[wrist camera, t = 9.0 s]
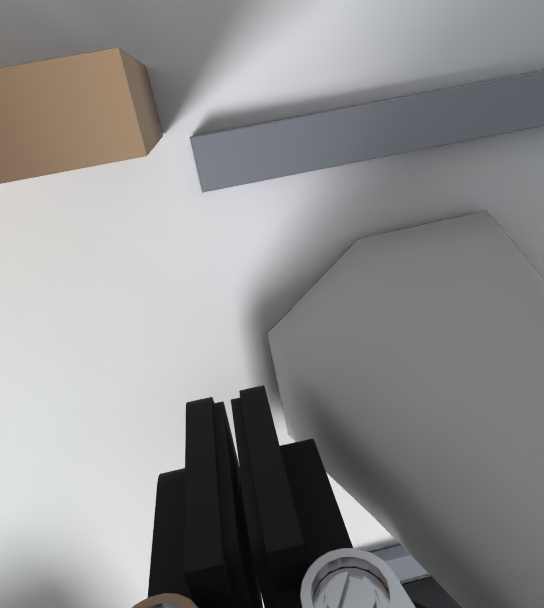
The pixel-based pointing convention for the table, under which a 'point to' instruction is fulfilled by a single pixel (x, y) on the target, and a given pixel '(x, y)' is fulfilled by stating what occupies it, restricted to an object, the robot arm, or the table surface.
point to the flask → (431, 399)
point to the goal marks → (370, 152)
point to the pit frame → (430, 594)
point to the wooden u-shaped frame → (74, 114)
